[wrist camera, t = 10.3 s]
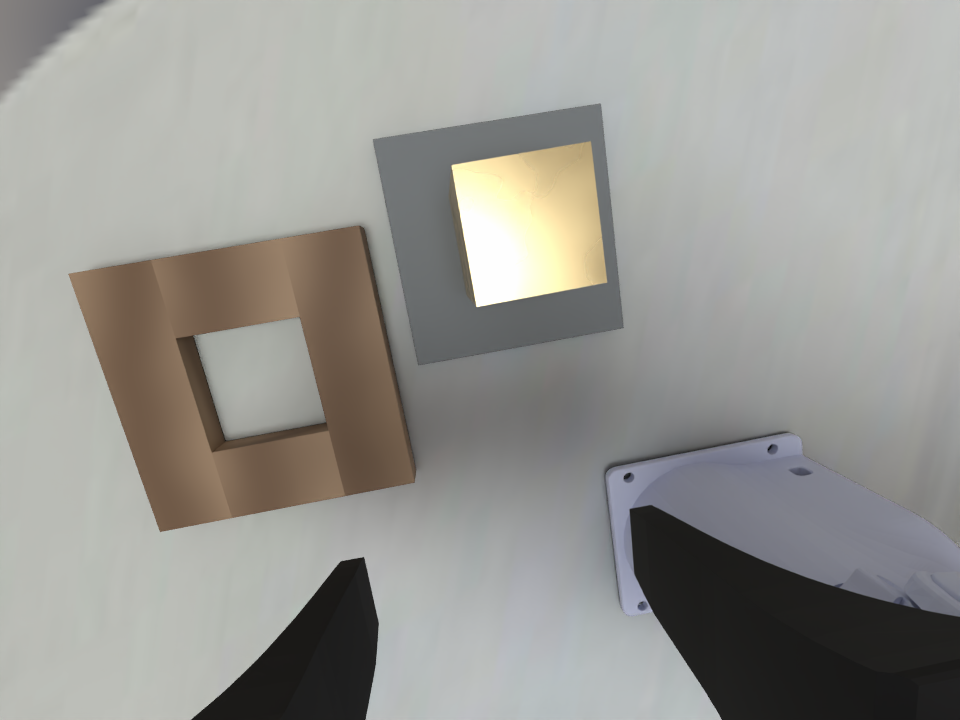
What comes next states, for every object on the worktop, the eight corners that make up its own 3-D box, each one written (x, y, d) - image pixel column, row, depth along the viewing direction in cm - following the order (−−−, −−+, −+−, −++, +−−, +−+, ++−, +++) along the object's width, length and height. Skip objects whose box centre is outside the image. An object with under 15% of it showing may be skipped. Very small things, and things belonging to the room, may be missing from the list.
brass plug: (546, 178, 18) (590, 141, 13) (560, 278, 19) (607, 282, 14) (448, 195, 18) (451, 165, 13) (466, 295, 19) (476, 306, 13)
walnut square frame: (364, 228, 18) (358, 225, 17) (416, 470, 21) (414, 482, 20) (92, 273, 18) (68, 273, 17) (176, 516, 20) (159, 531, 19)
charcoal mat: (596, 107, 18) (600, 103, 18) (619, 326, 20) (623, 327, 20) (374, 142, 18) (372, 139, 17) (419, 362, 20) (418, 365, 19)
